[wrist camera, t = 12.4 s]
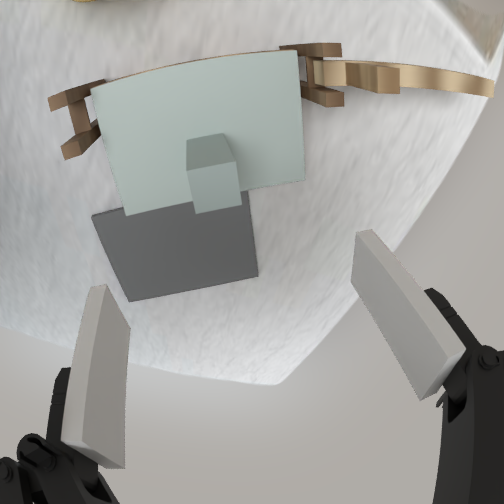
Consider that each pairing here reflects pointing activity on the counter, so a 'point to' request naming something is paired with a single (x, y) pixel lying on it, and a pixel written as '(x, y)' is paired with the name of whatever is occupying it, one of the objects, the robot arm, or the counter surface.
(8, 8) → the counter surface
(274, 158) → the lid
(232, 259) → the mat
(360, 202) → the counter surface
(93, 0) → the yellow clevis bracket
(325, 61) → the key
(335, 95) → the wooden rack
